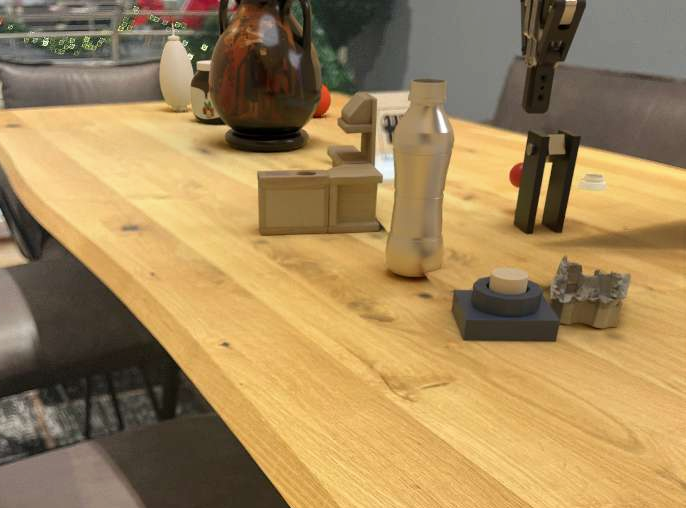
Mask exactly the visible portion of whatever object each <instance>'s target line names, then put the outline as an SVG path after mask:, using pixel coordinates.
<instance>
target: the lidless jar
mask: <svg viewBox="0 0 686 508" xmlns="http://www.w3.org/2000/svg"><path fill="white" fill-rule="evenodd" d="M607 186H608V185H607V182H606V180H605V175H603V174H600V173H584V175H583V178H582V179H580V180H579V181H578V183H577V184H576V188H577V189H580V190H583V191H589V192H604V191H607V190H608V187H607Z"/></svg>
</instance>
